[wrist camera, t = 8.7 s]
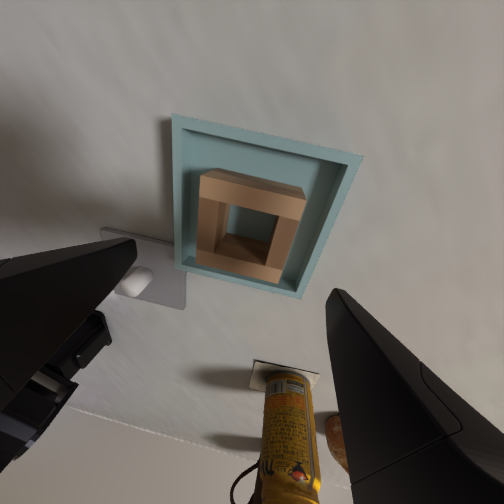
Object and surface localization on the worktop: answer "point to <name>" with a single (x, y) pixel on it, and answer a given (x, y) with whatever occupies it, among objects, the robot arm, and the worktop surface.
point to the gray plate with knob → (151, 272)
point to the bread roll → (336, 441)
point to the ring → (238, 247)
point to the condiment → (287, 435)
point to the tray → (248, 220)
